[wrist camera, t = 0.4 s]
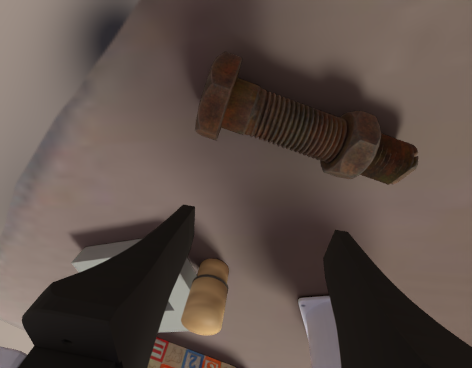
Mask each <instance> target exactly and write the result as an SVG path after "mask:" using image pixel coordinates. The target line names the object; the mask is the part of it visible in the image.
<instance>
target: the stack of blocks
mask: <svg viewBox="0 0 472 368" xmlns="http://www.w3.org/2000/svg"><path fill="white" fill-rule="evenodd" d="M147 368H236V367H234V366H231V365H229V364H226V363H223V362H221V361H218V360H216V359H213V358H211V357H208V356H206V355H202V354H200V353H197V352H194V351H192V350H189V349H186V348H184V347H181V346H178V345H176V344H173V343H170V342H168V341H166V340H163V339H160V338H158V337H156V341H155V344H154V347H153V351H152V354H151V357H150V360H149V364H148V367H147Z"/></svg>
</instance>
